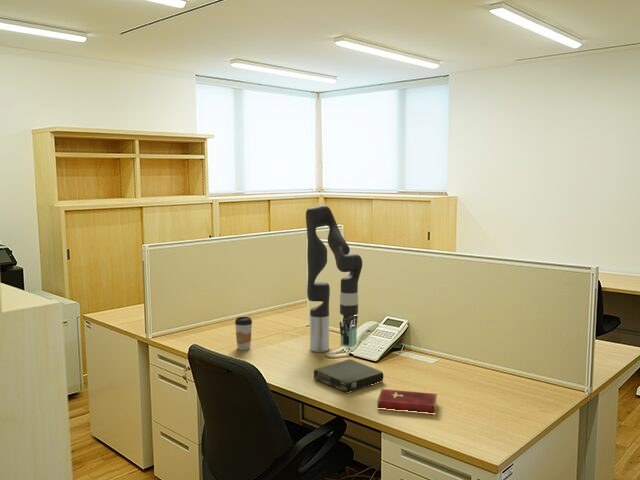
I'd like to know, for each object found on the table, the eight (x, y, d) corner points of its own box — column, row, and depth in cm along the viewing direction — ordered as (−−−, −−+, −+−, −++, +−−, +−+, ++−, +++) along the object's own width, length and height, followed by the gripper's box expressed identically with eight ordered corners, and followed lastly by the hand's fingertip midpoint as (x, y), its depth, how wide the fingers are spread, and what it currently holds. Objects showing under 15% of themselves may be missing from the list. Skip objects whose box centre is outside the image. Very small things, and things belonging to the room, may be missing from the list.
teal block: (345, 342, 242) (345, 326, 241) (356, 344, 240) (356, 327, 239) (340, 345, 238) (340, 329, 237) (351, 347, 235) (352, 330, 235)
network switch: (308, 381, 240) (308, 370, 239) (345, 367, 257) (345, 356, 256) (351, 397, 224) (351, 384, 224) (387, 381, 241) (388, 369, 241)
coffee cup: (232, 349, 281) (231, 319, 279) (240, 345, 288) (240, 315, 287) (247, 351, 278) (246, 321, 276) (255, 347, 285) (255, 317, 283)
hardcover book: (435, 416, 206) (435, 405, 206) (377, 410, 211) (377, 399, 211) (436, 403, 218) (437, 393, 218) (381, 398, 223) (381, 388, 222)
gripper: (347, 298, 245) (347, 337, 247) (333, 305, 232) (333, 346, 234) (364, 300, 241) (363, 339, 243) (350, 307, 228) (350, 348, 231)
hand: (348, 342), depth 239 cm, fingers closed on teal block, 5 cm apart
